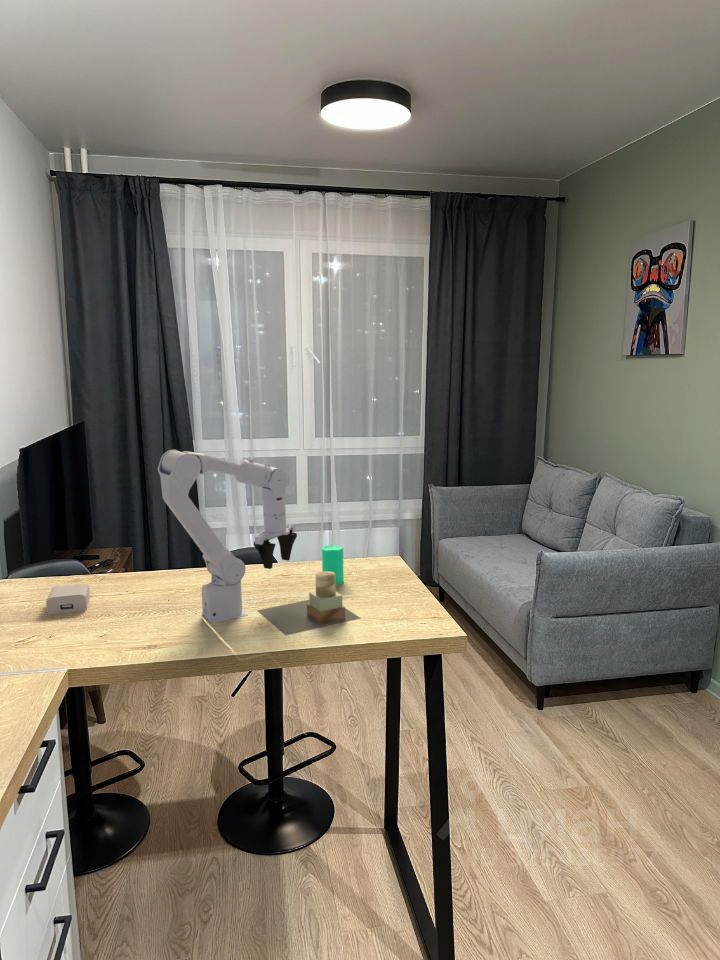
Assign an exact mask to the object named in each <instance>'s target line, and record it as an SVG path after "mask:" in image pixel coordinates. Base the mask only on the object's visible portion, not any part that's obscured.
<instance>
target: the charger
mask: <svg viewBox="0 0 720 960" xmlns="http://www.w3.org/2000/svg"><path fill="white" fill-rule="evenodd" d="M90 598H91V593H90V585H89V584H86V583H79V584H78V583H77V584H68V585H59V586H54V587H52V588H51V590H50V592H49V594H48V596H47V598H46V601H45V602H46V603H45V604H46V613H47V614H48V615H51V616H52V615H61V614H62V615H63V614H70V613H79V612H80V613H81V612H85V611H87V609H88V605H89V602H90Z"/></svg>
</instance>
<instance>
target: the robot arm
mask: <svg viewBox="0 0 720 960" xmlns="http://www.w3.org/2000/svg"><path fill="white" fill-rule="evenodd" d="M159 460H160V461H159V464H158V466H157V472H158V474H159V477H160V485H161V495H162V500H163V501H164V503H165V504H166V505H167V507H168V508H169V509H170V511H171V512H172V513H173V515H174V516H175V518H176V519H177V520H178V521H179V523H180V524H181V525H182V526H183V528H184V530H185V531H186V532H187V534H188V535H189V537H190V538H191V539H192V540H193V542H194V543H195V545H196V546H197V547H198V549H199V551H201V552H202V559H203V560H204V562H205V564H206V566H205V567H206V569H207V572H208V573H209V574H210V575H211V577H210V578H211V580H210V581H211V582H209V583H206V584H203V585H202V587H201V604H202V605H201V606H202V607H201V608H202V612H201V614H202V615H203V616H204V617H205V618H206V619H207V620H208V621H209V622H210V623H212V624H213V623H218V622H223V621H228V620H233V619H237V618H242V617H247V616H248V615H249V614H248V613H247V612H246V611H245V610H244V609H243V601H242V599H243V598H242V597H243V595H242V580H243V578H244V577H245V574H246V564H245V563H244V561H242V560H241V559H240V558H238V557H235V555H233V553H232V552H231V551H230V550H229V549H228V548H227V547H226V546H225V545H224V544H223V543H222V541H221V540H220V538H219V537H218V535H216V533H215V532H214V530H213V529H212V527H211V526H210V525H209V524H208V521H206V518H205V517H204V516H203V515H202V513H201V512H200V510H199V509H198V508H197V507H196V505H195V504H194V502H193V501H192V499H191V498H190V497H189V493H190V490H191V488H192V487H193V485H194V483H195V482H196V480H197V478H198V477H199V475H200V474H201V475H204V474H205V473H207V472H208V471H213V472H217V473H222V474H226V475H231V476H234V479H235V480H236V482H238V483H239V484H240V483H241V484H246V485H249V486H254V487H258V488H261V493H262V494H261V495H262V512H263V513H262V514H263V515H262V516H263V530H262V531H261V532H260V533H258V534H257V535H255V536H254V542H253V546H254V548H255V549H256V551H257V553H258V554H259V556H260V559H261V562H262V565H263V567H264V569H267V570H272V569H273V566H274V565H273V563H274V561H273V559H274V558H273V557H274V551H275V547H276V545H277V544H276V543H272V542H271V541H270V540H273V539H276V538H277V540H278V545H279V552H280V557H281V560H282V561H290V560H291V554H292V551H293V546H294V543H295V542H296V539H297V537H298V533H297V532H295V531H296V527H295V526H296V524H295V523H293V522H292V523H291V522H287V516H286V514H287V513H286V512H287V511H286V489H287V487H288V485H289V482H290V481H289V480H290V479H289V478H288V475H287V473H286V471H284V470H283V469H282V468H279V467H278V468H277V467H273V466H271V464H268V463H259V462H255V459H253V458H246V459H241V460H240V461H238V462H234V461H230V460H226V459H223V458H220V457H217V456H213V455H209V454H206V453H202V452H201V453H200V452H196V451H195V452H193V451H187V450H186V451H185V450H184V451H180V450H178V449H169V450H167V451H165V452H164V453H163V454H162V456H161V458H160V459H159Z"/></svg>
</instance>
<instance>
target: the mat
mask: <svg viewBox="0 0 720 960" xmlns="http://www.w3.org/2000/svg"><path fill="white" fill-rule="evenodd" d="M308 603H309V599H306V600H301V601H297V602H292V603H288V604H282V605H277V606H276V605H275V606H272V607H268V608H267V607H266V608H262V609H257V610H256V611H257V613H259V614H260V615H261V616H262V617H264V618H265V620H267V621H268V622H269V623H270V624H272V625H273V626H274V627H275V628H276V629H278V630H279V631H280V632H281V633H282V634H283V635H285V636H289V635H293V634H294V635H295V634H298V633H303V632H306V631H310V630H316V629H320V628H324V627H329V626H333V625H334V626H335V625H338V624H342V623H346V622H351V621H355V620H359V619H361V617H360V616H358V615H357V614H355V613H354V612H353V611H351V610H349V609H347V608H346V607H345V619H343V620H339V621H334V622H330V623H325V624H321V625H319V624H318V623H317V622H315V621H314V620H313V619H311V618H310V617H309V616H307V604H308Z"/></svg>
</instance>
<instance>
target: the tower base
mask: <svg viewBox="0 0 720 960" xmlns="http://www.w3.org/2000/svg"><path fill="white" fill-rule="evenodd" d="M345 608H346V606H344V605H343V604H342V607H341V608H336V609H331V610H327V611H322V612H320V611H319V610H317V609H316V608H314V607H313V606H312V605H310V604H309V603H308V604H307V616H309V617H310V618H311V619H313V620H314V621H315V622H317V623H318V624H319V625H321V624H325V623H330V622H334V621H339V620H343V619H345Z"/></svg>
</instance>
